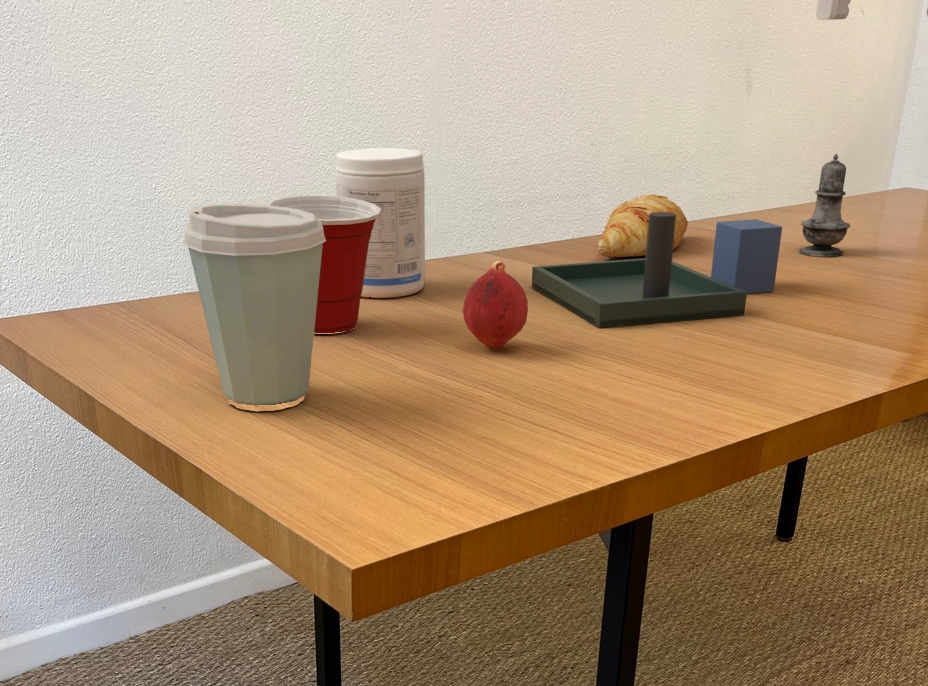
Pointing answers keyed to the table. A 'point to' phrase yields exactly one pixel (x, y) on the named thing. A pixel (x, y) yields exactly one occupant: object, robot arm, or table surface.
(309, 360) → the disposable coffee cup
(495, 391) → the table surface
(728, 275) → the block
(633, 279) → the tray
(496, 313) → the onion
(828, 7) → the robot arm
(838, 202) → the salt shaker
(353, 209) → the plastic cup
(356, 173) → the supplement tub
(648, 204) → the croissant
